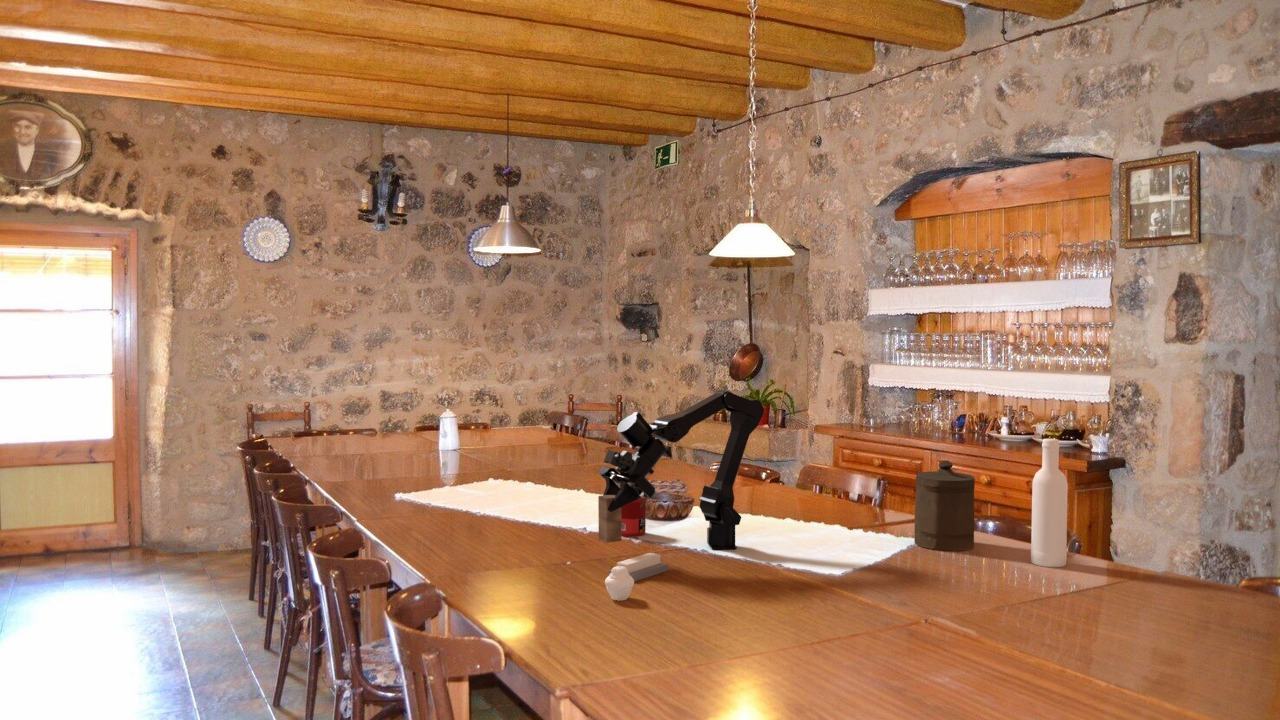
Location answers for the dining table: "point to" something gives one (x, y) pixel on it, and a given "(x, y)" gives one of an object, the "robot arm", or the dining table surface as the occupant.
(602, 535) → the tall brown block
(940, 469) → the wooden container
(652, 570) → the ridge block
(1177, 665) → the dining table surface
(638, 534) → the canned food
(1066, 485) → the bottle
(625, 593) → the muffin
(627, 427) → the robot arm
